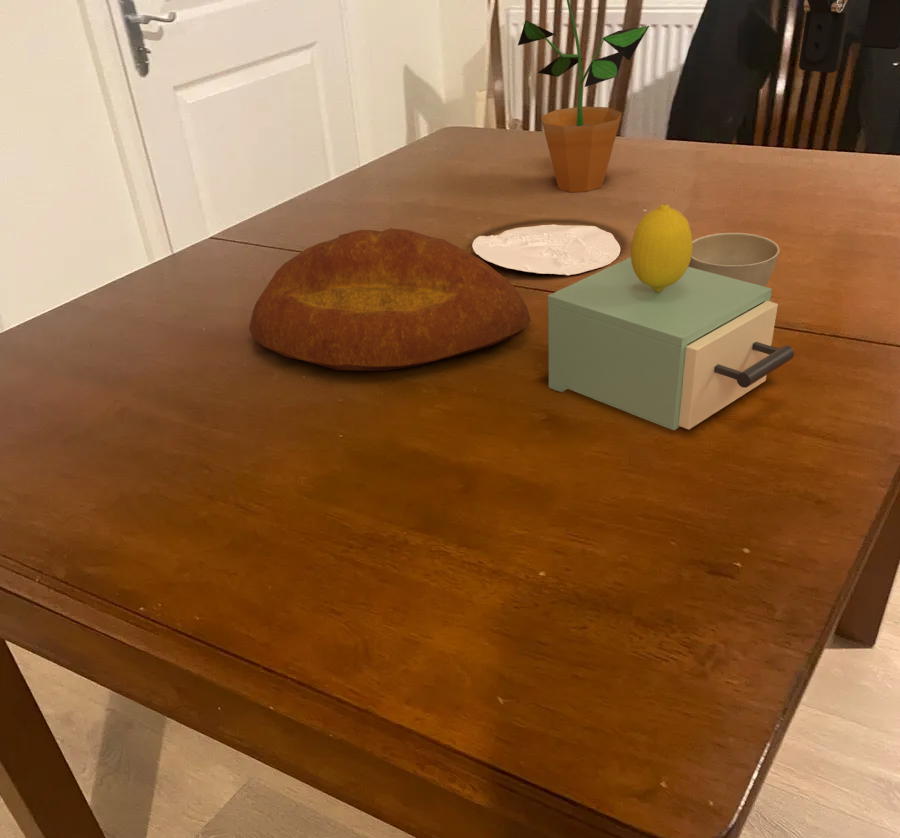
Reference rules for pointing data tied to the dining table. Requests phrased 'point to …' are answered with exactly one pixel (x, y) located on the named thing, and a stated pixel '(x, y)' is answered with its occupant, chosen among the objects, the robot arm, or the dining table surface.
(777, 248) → the flower pot
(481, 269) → the bread
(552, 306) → the cabinet
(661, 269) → the lemon
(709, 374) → the drawer
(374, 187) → the dining table surface
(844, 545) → the dining table surface
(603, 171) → the potted plant
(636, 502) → the dining table surface
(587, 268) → the plaque
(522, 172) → the dining table surface
